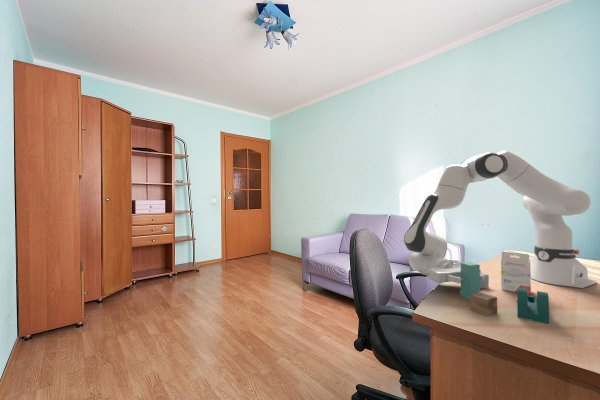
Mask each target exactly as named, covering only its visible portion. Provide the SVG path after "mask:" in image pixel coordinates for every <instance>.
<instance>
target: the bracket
mask: <svg viewBox="0 0 600 400" xmlns="http://www.w3.org/2000/svg"><path fill="white" fill-rule="evenodd" d="M516 294H517V297H516V298H517V302H516V303H517V304H516V307H517V308H516V310H517V312H516V313H517V314H516V315H517V318H520V319H526V320H530V321H534V322H538V323H543V324H547V325H549V324H550V302H549V301H550V299H549V292H544V291H538V290H537V291H536V295H531V294H527V289H522V288H517V292H516Z"/></svg>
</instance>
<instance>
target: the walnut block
mask: <svg viewBox="0 0 600 400" xmlns="http://www.w3.org/2000/svg"><path fill="white" fill-rule="evenodd" d="M469 301H470V302H469V303H470V305H469V306H470V308H469V310H470V311H472V312H475V313H477V314H481V315H483V316H485V315H486V317H489V315H490V316H493V315H496V314H498V297H497V296H496V295H495V296H494V295H492V294H489V293H485V292H481V291H480V292H477V293H473V294H470V300H469Z"/></svg>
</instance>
